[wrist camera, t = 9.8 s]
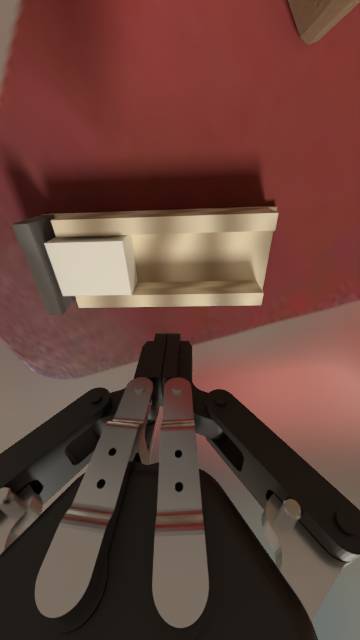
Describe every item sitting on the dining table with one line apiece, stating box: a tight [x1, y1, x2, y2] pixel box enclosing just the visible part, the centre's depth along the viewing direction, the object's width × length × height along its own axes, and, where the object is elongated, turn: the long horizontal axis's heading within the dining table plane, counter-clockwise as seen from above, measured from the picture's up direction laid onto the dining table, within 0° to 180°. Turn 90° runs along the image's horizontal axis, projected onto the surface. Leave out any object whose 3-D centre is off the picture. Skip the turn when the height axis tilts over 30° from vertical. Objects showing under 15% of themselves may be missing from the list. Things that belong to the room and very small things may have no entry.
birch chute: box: [11, 206, 278, 315], centre depth 26 cm, size 26×10×6 cm, turn 92°
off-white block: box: [44, 235, 138, 296], centre depth 26 cm, size 8×6×4 cm
